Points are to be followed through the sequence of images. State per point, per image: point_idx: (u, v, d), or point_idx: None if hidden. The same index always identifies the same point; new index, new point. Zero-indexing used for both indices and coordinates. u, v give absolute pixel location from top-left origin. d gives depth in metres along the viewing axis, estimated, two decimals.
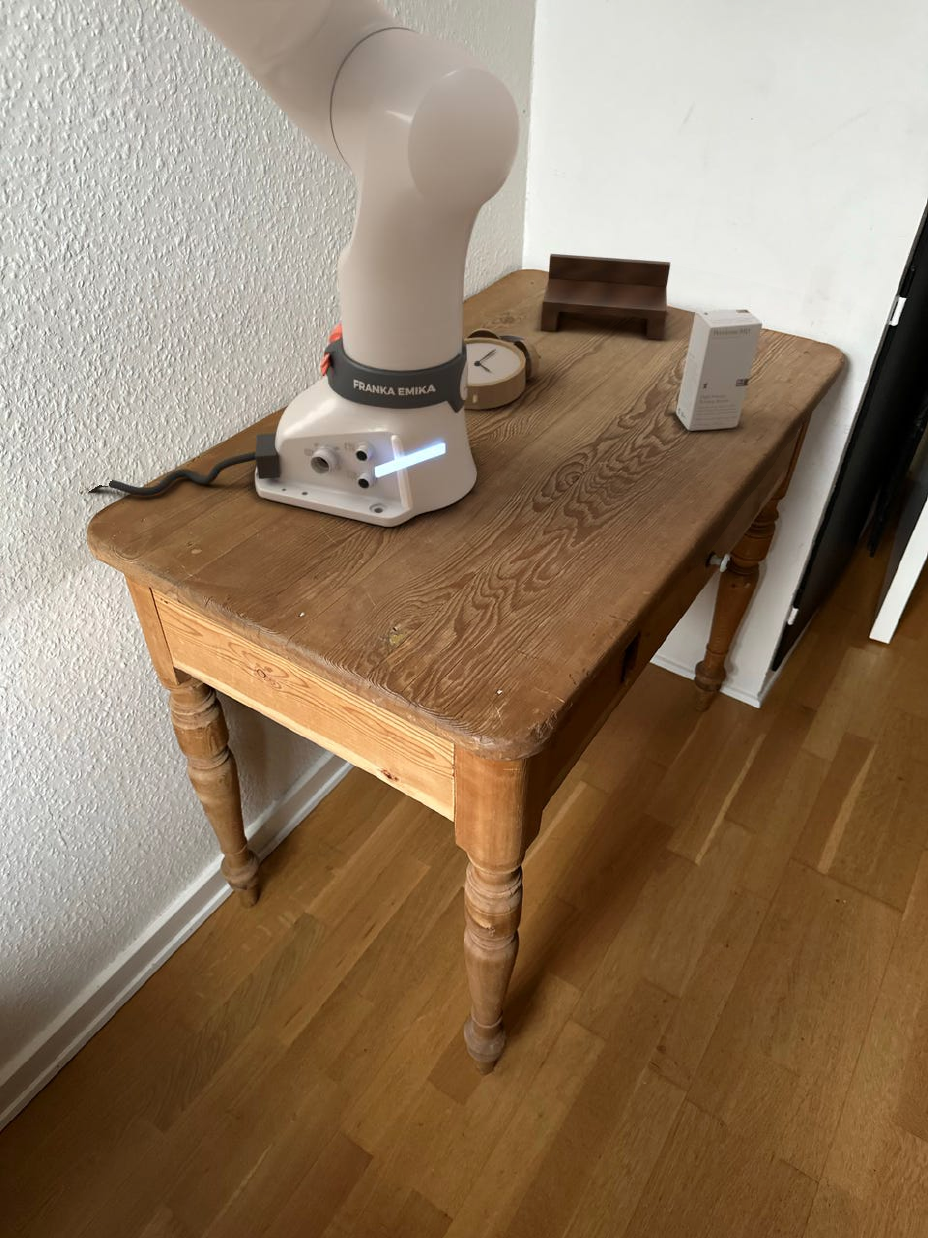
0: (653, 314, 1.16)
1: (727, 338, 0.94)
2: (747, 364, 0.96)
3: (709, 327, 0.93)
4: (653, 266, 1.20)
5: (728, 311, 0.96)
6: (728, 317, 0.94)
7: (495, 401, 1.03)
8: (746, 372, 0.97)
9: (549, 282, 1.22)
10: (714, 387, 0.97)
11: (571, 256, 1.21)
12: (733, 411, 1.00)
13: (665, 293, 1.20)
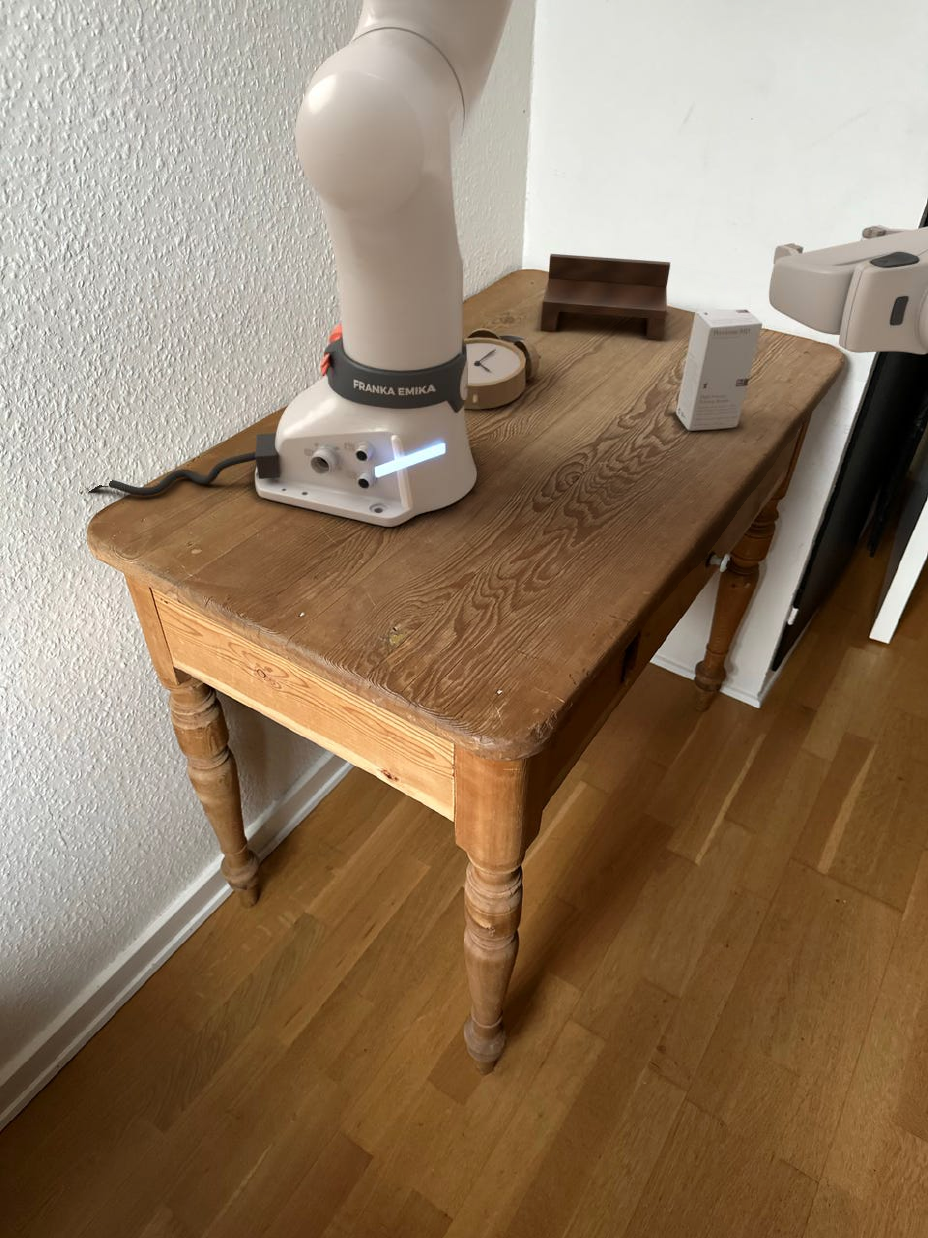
0: (653, 314, 1.16)
1: (727, 338, 0.94)
2: (747, 364, 0.96)
3: (709, 327, 0.93)
4: (653, 266, 1.20)
5: (728, 311, 0.96)
6: (728, 317, 0.94)
7: (495, 401, 1.03)
8: (746, 372, 0.97)
9: (549, 282, 1.22)
10: (714, 387, 0.97)
11: (571, 256, 1.21)
12: (733, 411, 1.00)
13: (665, 293, 1.20)
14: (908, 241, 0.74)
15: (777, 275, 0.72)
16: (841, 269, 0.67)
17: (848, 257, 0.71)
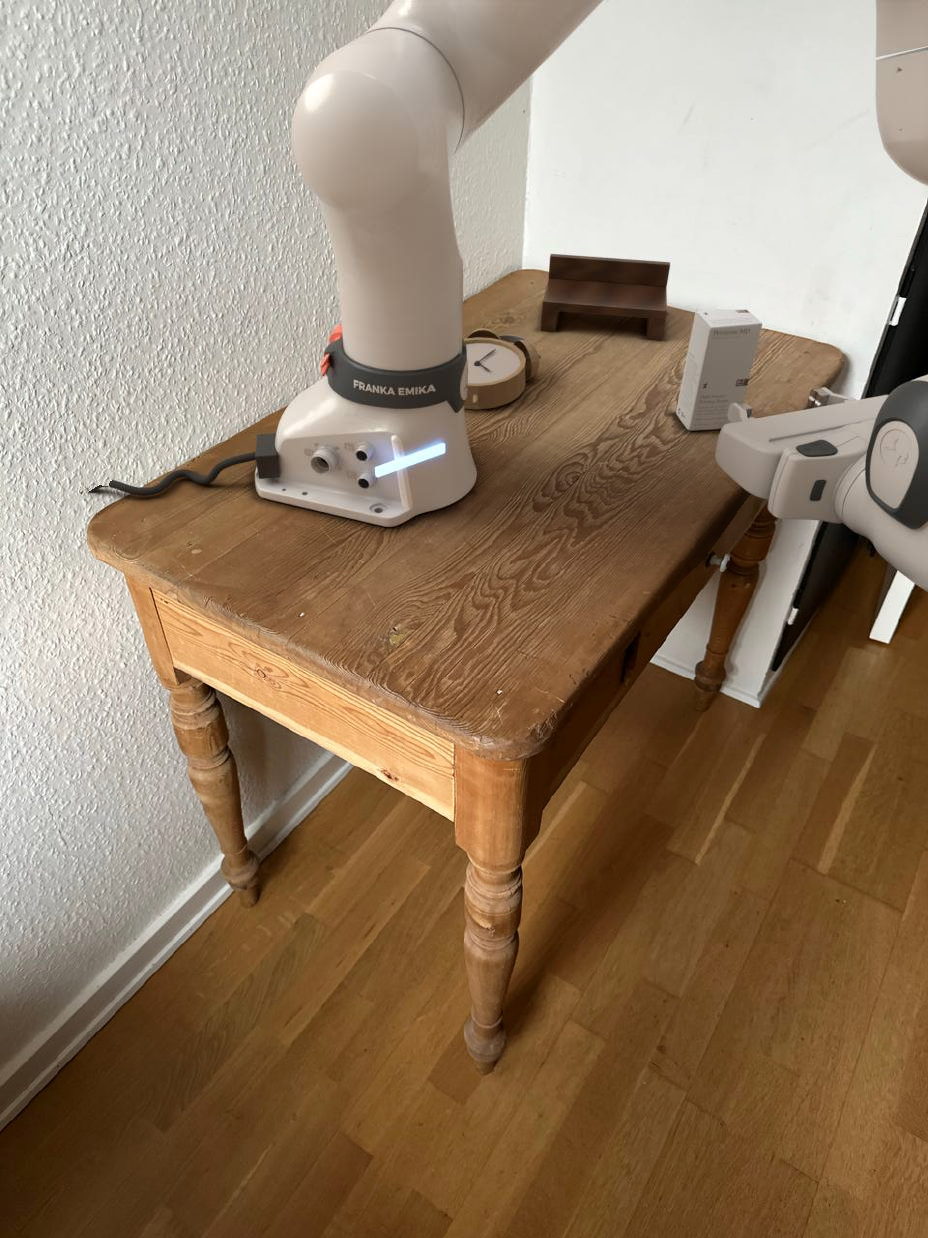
0: (653, 314, 1.16)
1: (727, 338, 0.94)
2: (747, 364, 0.96)
3: (709, 327, 0.93)
4: (653, 266, 1.20)
5: (728, 311, 0.96)
6: (728, 317, 0.94)
7: (495, 401, 1.03)
8: (746, 372, 0.97)
9: (549, 282, 1.22)
10: (714, 387, 0.97)
11: (571, 256, 1.21)
12: None
13: (665, 293, 1.20)
14: (841, 417, 0.84)
15: (722, 440, 0.83)
16: (772, 450, 0.78)
17: (785, 431, 0.82)
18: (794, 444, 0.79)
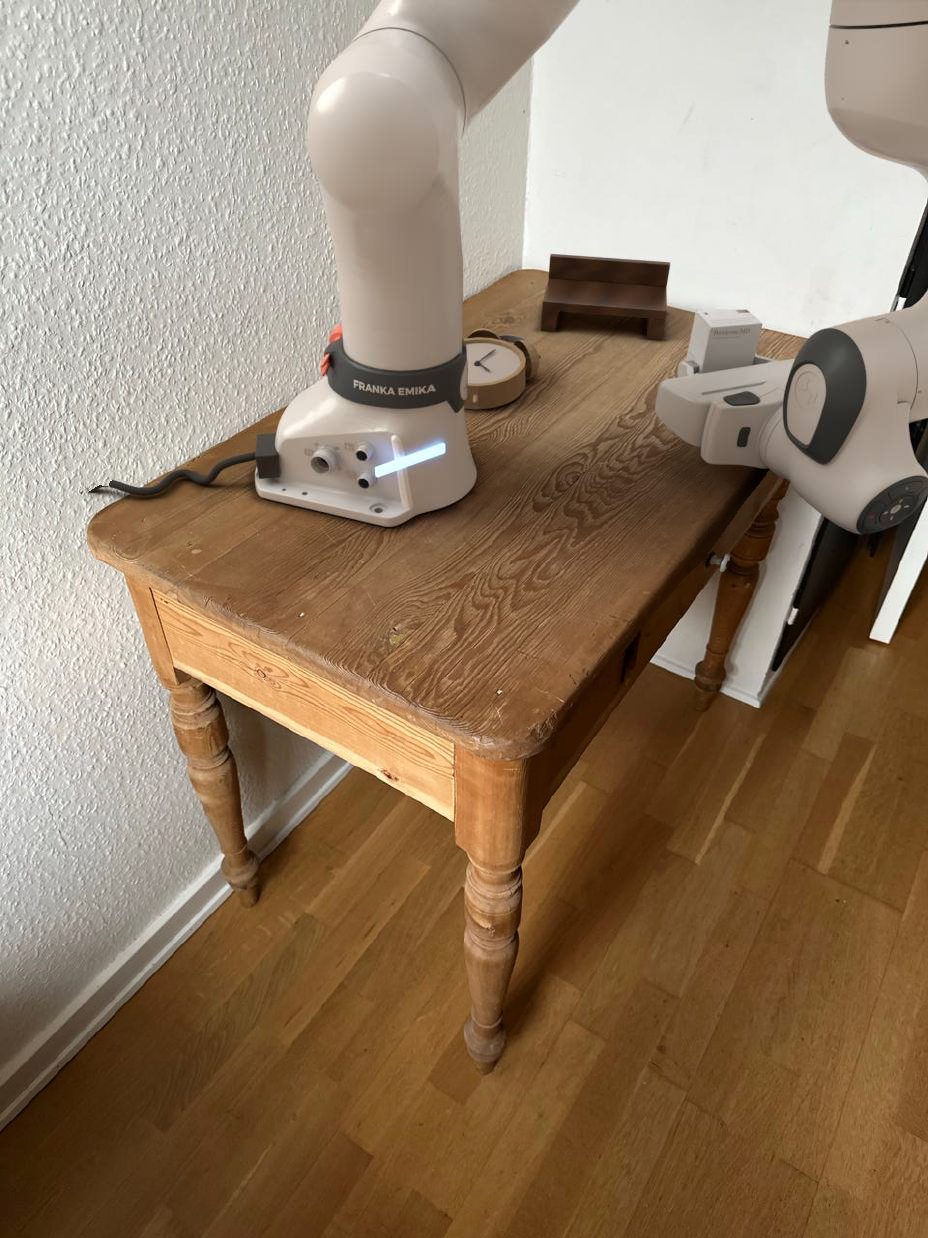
0: (653, 314, 1.16)
1: (727, 338, 0.94)
2: (747, 364, 0.96)
3: (709, 327, 0.93)
4: (653, 266, 1.20)
5: (728, 311, 0.96)
6: (729, 317, 0.94)
7: (495, 401, 1.03)
8: None
9: (549, 282, 1.22)
10: None
11: (571, 256, 1.21)
12: None
13: (665, 293, 1.20)
14: (770, 373, 0.93)
15: (660, 394, 0.91)
16: (703, 400, 0.87)
17: (717, 385, 0.91)
18: (723, 395, 0.87)
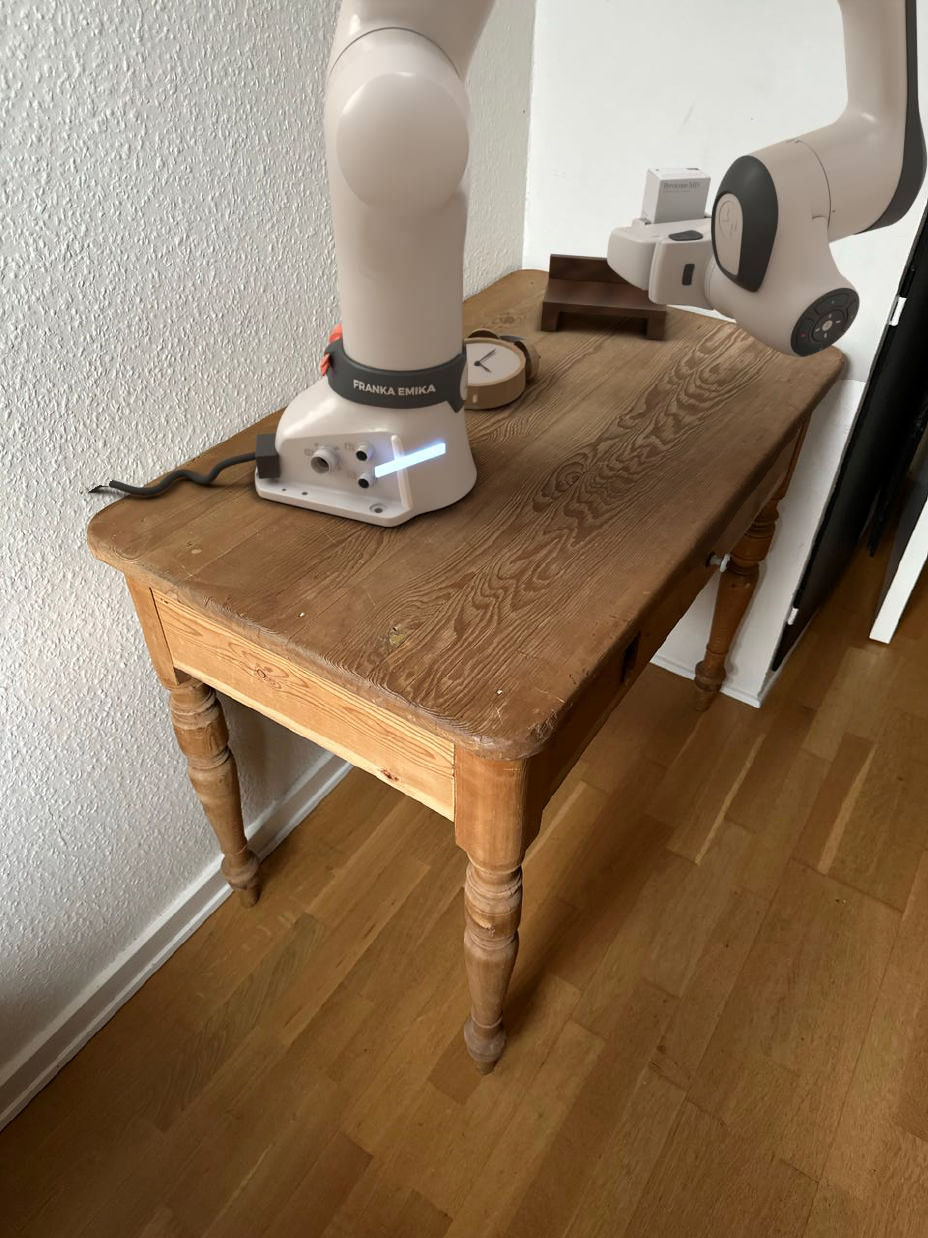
0: (653, 314, 1.16)
1: (677, 192, 0.98)
2: None
3: (659, 179, 0.97)
4: None
5: (679, 168, 0.99)
6: (678, 172, 0.98)
7: (495, 401, 1.03)
8: None
9: (549, 282, 1.22)
10: None
11: (571, 256, 1.21)
12: None
13: None
14: None
15: (611, 241, 0.95)
16: (649, 240, 0.91)
17: (665, 232, 0.94)
18: None
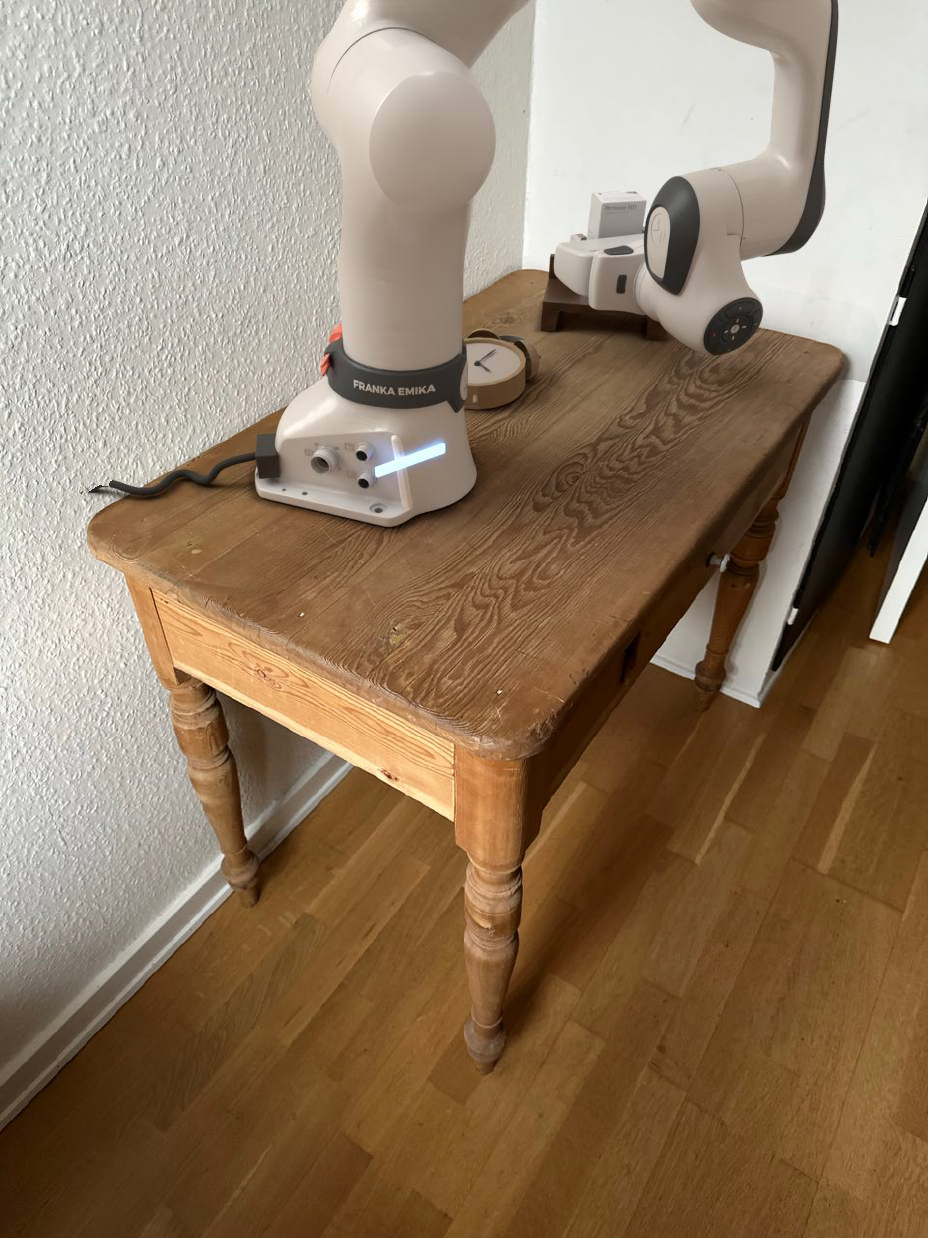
0: None
1: (617, 213, 1.11)
2: None
3: (601, 203, 1.10)
4: None
5: (619, 192, 1.13)
6: (618, 196, 1.12)
7: (495, 401, 1.03)
8: None
9: (549, 282, 1.22)
10: None
11: None
12: None
13: None
14: None
15: (557, 254, 1.08)
16: (588, 254, 1.04)
17: (604, 246, 1.08)
18: None
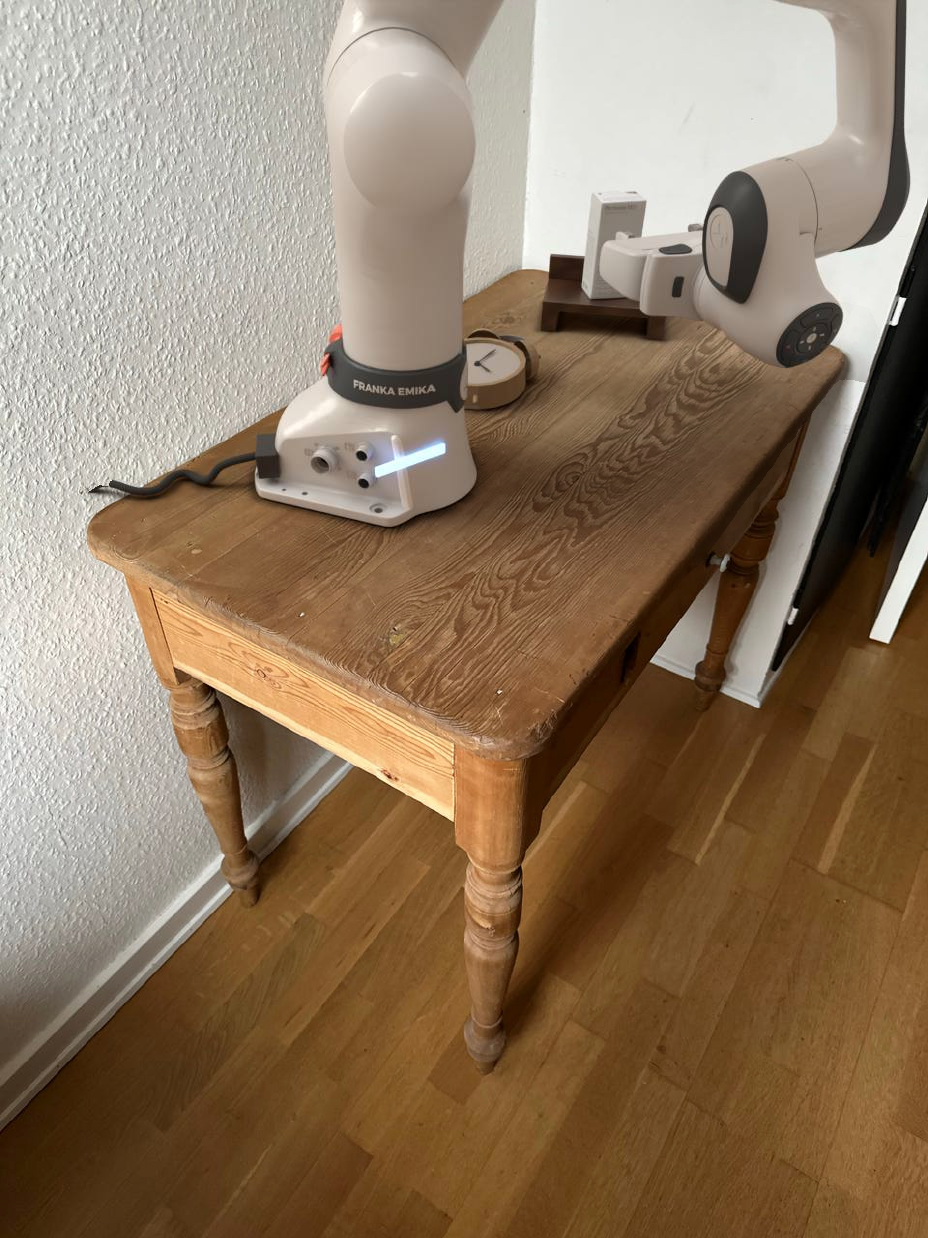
0: None
1: (617, 213, 1.11)
2: None
3: (601, 203, 1.10)
4: None
5: (619, 192, 1.13)
6: (618, 196, 1.12)
7: (495, 401, 1.03)
8: None
9: (549, 282, 1.22)
10: None
11: (571, 256, 1.21)
12: None
13: None
14: None
15: (603, 253, 0.98)
16: (640, 253, 0.93)
17: (656, 245, 0.97)
18: None
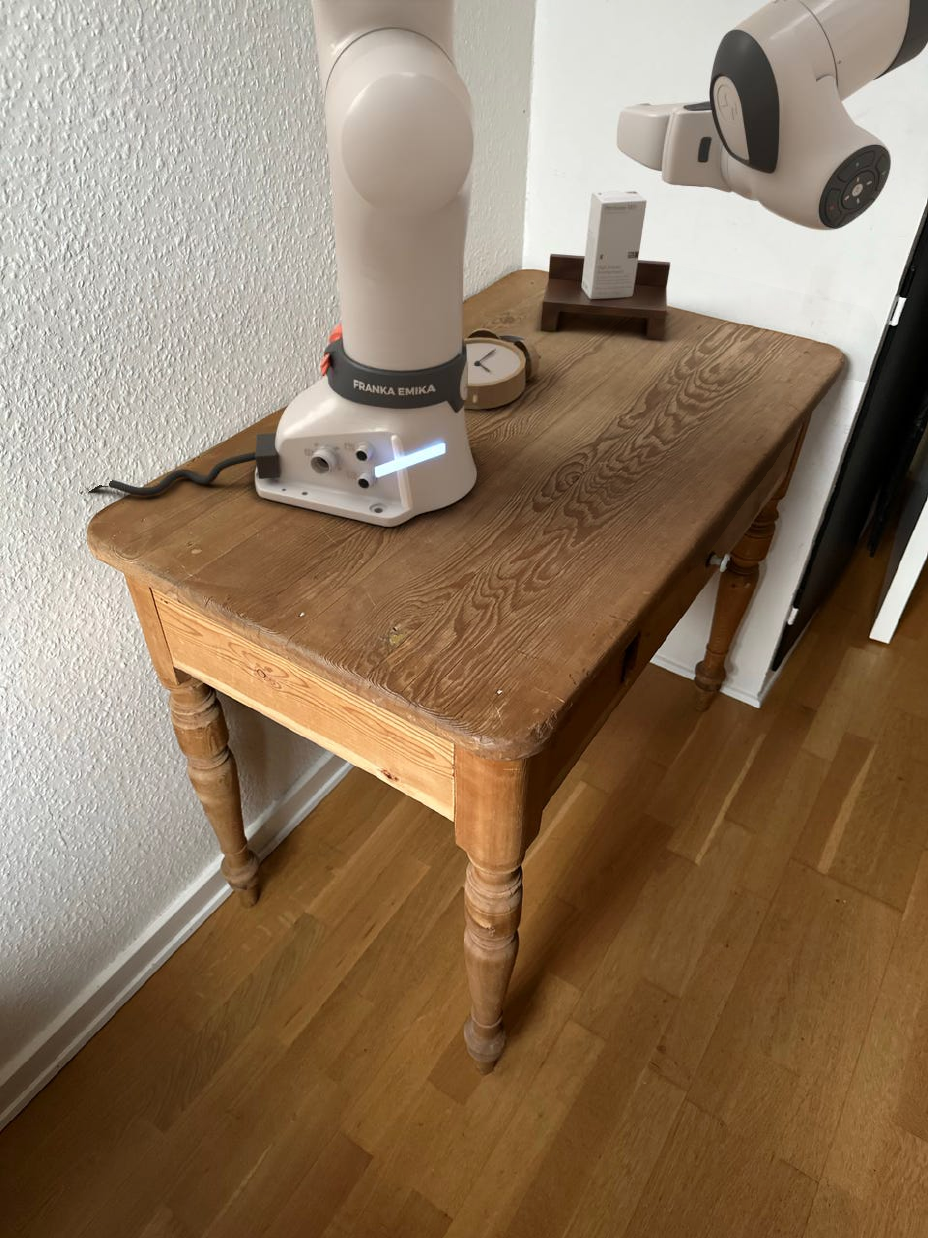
0: (653, 314, 1.16)
1: (617, 213, 1.11)
2: (636, 238, 1.14)
3: (601, 203, 1.10)
4: (653, 266, 1.20)
5: (619, 192, 1.13)
6: (618, 196, 1.12)
7: (495, 401, 1.03)
8: (636, 245, 1.14)
9: (549, 282, 1.22)
10: (609, 258, 1.15)
11: (571, 256, 1.21)
12: (627, 281, 1.17)
13: (665, 293, 1.20)
14: None
15: (621, 120, 0.89)
16: (662, 113, 0.84)
17: None
18: None
